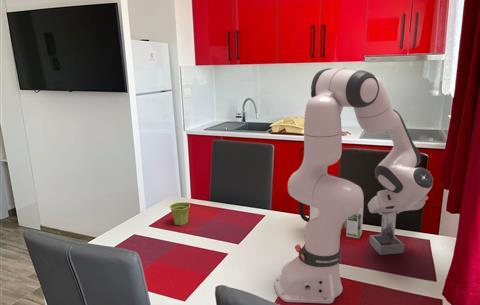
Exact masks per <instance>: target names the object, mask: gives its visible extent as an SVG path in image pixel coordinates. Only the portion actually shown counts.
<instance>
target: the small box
mask: <svg viewBox="0 0 480 305" xmlns="http://www.w3.org/2000/svg"><path fill="white" fill-rule="evenodd" d="M341 229H343V230H347V219H346V220H345V222H344V223H343V225H342V228H341Z"/></svg>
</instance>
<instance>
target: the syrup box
mask: <svg viewBox="0 0 480 305" xmlns="http://www.w3.org/2000/svg"><path fill="white" fill-rule="evenodd" d="M363 218H364V202H363V205H362V207H361V209H360V210H359V211H358V212H357V213H356V214H355V215H353V216H351V217H349V218H348V219H347V229H345V237H349V238H354V239H360V238H361V236H362V233H363Z"/></svg>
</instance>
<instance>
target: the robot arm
mask: <svg viewBox="0 0 480 305" xmlns="http://www.w3.org/2000/svg"><path fill="white" fill-rule="evenodd" d="M310 97H311V98H310V99H309V100H308V101H307V103H306V106H305V111H304V120H303V140H304V141H303V148H304V149H303V158H302V159H303V160H302V162H301V165H300V166H299V168H298V169H297V170H296V171H294V172H293V173H292V174H291V175H290V177H289V178H288V181H287V192H288V194H289V197H292V198H293V199H294V200H296V201H297V202H301V203H303V204H304V205H306V206H309V205H310V206H313V207H316V208H318V209H319V217H315V218H312V219H311V220H309V221H308V222H307V223H305V224H306V225H305V227H304V245H303V246H302V247H301V245H300V244H295V246H294V250H295V252H296V253H298V256H296V257H295V258H294V259H292V260H291V261H289V262H288V263H286V264H284V265H283V267H282V270H281V274H279V275H277V276H275V279H274V282H273V284H274V285H273V286H274V289H275V290H274V291H275V292H276V294H277V296H278V297H279V298H280V299H281V300H282V301H283V302H286V303H302V304H303V303H308V304H309V303H310V304H333V302H334V301H335V298H337V297H338V296H340V295H341V294H342V292H343V285H342V280H341V273H340V264H341V258H342V257H341V255H342V254H341V248H340V239H341V238H340V235H341V231H342V229H343V228H342V225H343V223H344V222H345V220H346V219H348V218H349V217H351V216H353V215H355V214H356V213H357V212H358V211H359V210H360V209H361V207H362V205H363V203H364V202H365V201H364V199H365V198H364V197H365V196H364V191H363V189H362V188H361V186H360V185H358V184H356V183H354V182H352V181H351V180H348V179H345V178H342V177H337V176H335V175H333V176H330V175H331V174H329V173H328V174H327V171H328V167H329V166H333V165H335V164H336V163H338V161H339V160H340V159H341V156H342V153H343V152H342V151H343V149H342V148H343V146H342V145H343V144H342V143H343V142H342V141H343V139H342V136H343V134H342V133H343V131H342V128H343V127H342V118H341V114H342V111H343V109H344V107H345V108H353V110H354V115H355V117H356V120H357V123H358V124H359V125H358V126H360V128H361V129H362V130H364V131H365V132H367V133H370V134H383V133H387V132H388V134H389V137H390V139H391V141H392V143H393V146H392V149H391V151H390V152H389V153H388V154H387V155H386V156H385V158H383V159H382V160H381V161H380V162H379V163H378V165H377V166H376V167H375V168H374V175H375V178H376V180H377V182H378V184H379V185H381V187H383V188H384V189H383V190H379V191H377V192H376V195H375V196H373V197H372V198H371V199H370V201H369V202H368V203H367V209H368V211H369V213H371V214H379V215H381V216H382V214H384V213H385V212H394V211H396V214H400V213H401V212H405V211H406V212H407V211H418V210H420V209H423V207H424V206H425V204H426V201H427V200H428V199H429V196H428V195H427V194H428V193H429V192H430V190H431V189H432V187H433V184H434V178H433V176H432V174H431V172H430V171H429V170H428V169H426V168H424V167H417V166H418V165H420V163H421V162H422V161H421V160H422V156H421V153H420V151H419V149H418V147H417V146H416V145H415V144H414V142H413V140H412V137H411V136H410V135H411V134H410V133H409V131H408V128H407V127H406V126H407V125H406V123H405V121H404V120H403V118H402V116H401V114H400V113H399V112H398V111H397V110H396V109H393V108H392V104H391V102H390V101H391V100H390V98H389V95H388V92H387V90H386V88H385V86H384V84H383V82H382V80H381V79H380V78H379V77H378V76H376V75H375V74H373V73H372V72H369V71H367V70H361V69H360V70H356V69H352V68H351V69H350V68H346V67H344V68H343V67H342V68H341V67H339V68H337V67H336V68H331V67H330V68H329V67H328V68H324V69H321V70H319V71H317V72H316V73H315V75H314V76H313V78H312V81H311V84H310ZM334 176H335V177H334ZM363 206H364V205H363Z"/></svg>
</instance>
